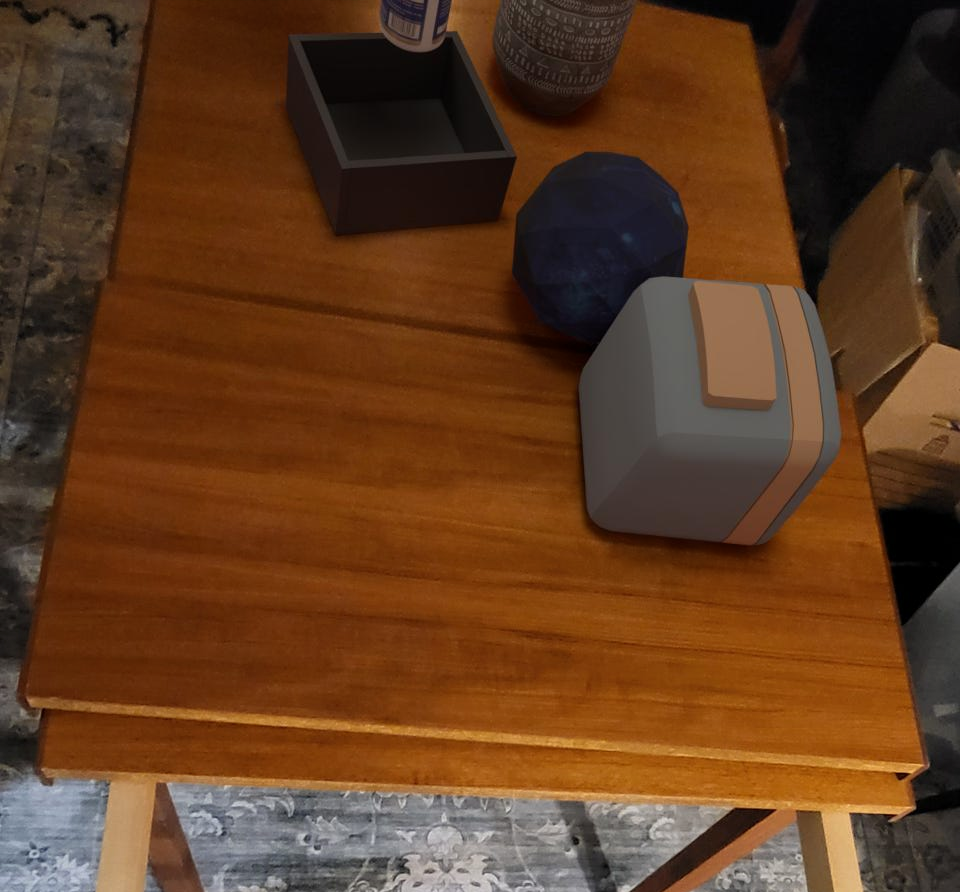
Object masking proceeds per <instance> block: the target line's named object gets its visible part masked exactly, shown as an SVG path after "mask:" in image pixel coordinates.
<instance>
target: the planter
mask: <svg viewBox="0 0 960 892" xmlns="http://www.w3.org/2000/svg"><path fill="white" fill-rule="evenodd" d="M637 1H638V0H500V2H499V6H498V9H497V13H496V14H497V15H496V17H495V22H494V26H493V30H492V31H493V32H492V41H491V42H492V48H493V52H494V57H495V60H496V64H497V68H498V71H499V74H500V77H501V79H502V82H503V84H504V87H505V89H506V91H507V92H508V93H509V96H511V97H512V99H514V101H515V102H516V103H518V104H519V105H521V106H522V107H524V108H526V109H527V110H529V111H532V112H534V113H537V114H540V115H545V116H554V117H557V116H564V115H568V114H570V113H572V112H574V111H575V110H577V109H579V108H580V107H581V106H583V105H585V103H587V102H588V101H590V100H591V99H592V98H593V97H594V96H595V95H597V94H598V93H599V92H600V91H601V90H602V89H603V88H604V87H605V86H606V85H607V83H608V82H609V80H610V78H611V76H612V73H613V70H614V67H615V65H616V62H617V59H618V57H619V54H620V51H621V47H622V43H623V41H624V38H625V36H626V34H627V30H628V27H629V25H630V22H631V19H632V17H633V14H634V12H635V8H636V5H637Z"/></svg>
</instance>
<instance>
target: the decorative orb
mask: <svg viewBox="0 0 960 892" xmlns="http://www.w3.org/2000/svg"><path fill="white" fill-rule="evenodd" d="M515 214H516V215H515V224H514V225H515V228H514V237H513V238H514V240H513V250H512V251H513V253H512V266H511V274H512V277H513V278H514V280H515V282H516V283H517V285H518V287H519V289H520V290H521V292H522V294H523V295H524V297H525V299H526V301H527V302H528V304H529V306H530V308H531V310H532V311H533V313H534V315H535V316H536V318H537V320H538V322H539V323H540V324H541V325H544V326H546V327H549V328H551V329H553V330H555V331H557V332H560V333H562V334H565V335H567V336H569V337H572V338H574V339H576V340H579V341H581V342H583V343H585V344H588V345H595V344H599V343H600V342H601V340H602V339H603V337H604V336H605V334H606V333H607V331H608V330H609V328H610V327H611V325H612V324H613V322H614V321H615V319H616V318H617V316H618V314H619V313H620V311H621V310H622V308H623V307H624V305H625V304H626V302H627V301H628V299H629V298H630V296H631V295H632V293H633V292H634V291H635V290H636V289H637V288H638V287H639V286H640V285H641V284H642V283H644V282H645V281H646V280H648V279H649V278H654V277H677V278H684V273H685V263H686V255H687V247H688V237H689V229H690V228H689V227H690V226H689V223H688V220H687V216H686V213H685V210H684V206H683V204H682V200H681V197H680V193H679V192H678V191H677V190H676V189H675V187H674V186H673V185H671V183H670V182H668V180H667V179H666V178H664V176H663V175H662V174H661V173H659V172H658V171H657V170H655V169H654V168H653V167H651V166H650V165H649V164H648V163H646V162H645V161H644V160H642V159H641V158H640V157H638V156H634V155H630V154H629V155H628V154H623V153H619V152H613V151H591V150H590V151H589V150H586V151H583V152H581V153H580V154H577V155H575V156H573V157H571V158H569V159H567V160H565V161H563V162H560V163H558V164H556V165H554V166H553V167H552V168H551V169H550V171H548V173H547V174H546V176H545V177H544V178H543V179H542V181H541V182H540V183H539V185H538V186H537V187H536V188H535V189H534V191H533V192H532V193H531V195H529V197H528V199H527V200H526V201H525V202H524V204H523V205H522V206H521V207H520V208H519V210H518V211H517V212H516V213H515Z"/></svg>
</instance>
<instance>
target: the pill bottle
mask: <svg viewBox="0 0 960 892" xmlns="http://www.w3.org/2000/svg"><path fill="white" fill-rule="evenodd" d="M452 1H453V0H380V4H379V5H380V6H379V15H378V22H379V23H378V24H379V28H380V30H381V33H383V34H384V36H385V37H386V38H387V39H388V40H389V41H390V42H392V43H393V44H394V45H396V46H398V47H400V48H402V49H404V50H407V51H412V52H428V51H431V50H434V49H436V48H437V47H439V46H440V45H441V43H442V42H443V40H444V38H445V34H446V31H447V29H448V24H449V17H450V13H451V7H452Z"/></svg>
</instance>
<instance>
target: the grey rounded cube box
mask: <svg viewBox="0 0 960 892" xmlns="http://www.w3.org/2000/svg"><path fill="white" fill-rule="evenodd" d="M833 370H834V369H833V363H832V360H831V356H830V352H829V348H828V345H827V341H826V337H825V333H824V329H823V326H822V324H821V320H820V316H819V314H818V310H817V307H816V304H815V303H814V301H813V300H812V298H811V296H810V295H809V294H808V293H807V292H806V290H804V289H802V288H799V287H797V286H792V285H783V284H770V283H769V284H768V283H755V282H743V281H730V280H715V279H702V278H687V277H683V278H677V277H654V278H649V279H648V280H646V281H645V282H644V283H642V284H641V285H640V286H639V287H638V288H637V289H636V290H635V291H634V292H633V293H632V295H631V296H630V298H629V299H628V301H627V302H626V304H625V305H624V307H623V308H622V310H621V311H620V313H619V314H618V316H617V318H616V319H615V321H614V322H613V324H612V325H611V327H610V328H609V330H608V331H607V333H606V334H605V336H604V337H603V339H602V340H601V342H600V343H598V345H597V346H596V348H595V350H594V351H593V352H592V354H591V356H590V357H589V359H588V360H587V362H586V363H585V365H584V367H583V368H582V371H581V374H580V377H579V383H578V396H579V397H578V398H579V409H580V426H581V439H582V441H581V442H582V454H583V455H582V456H583V457H582V458H583V470H584V483H585V484H584V485H585V486H584V487H585V499H586V501H585V502H586V509H587V513H588V515H589V518H590V519H591V520H592V521H593V522H594V524H595V525H597V526H598V527H599V528H602V529H604V530H608V531H609V532H618V533H627V534H637V535H647V536H656V537H666V538H676V539H684V540H685V539H686V540H695V541H705V542H714V543H724V544H733V545H742V546H757V545H764V544H765V543H767V542H768V541H770V540H771V539H772V538H773V537H775V535H776V534H777V533H778V531H780V529H782V527H783V526H784V525H785V524H786V522H787V521H788V520H789V519H790V518H791V516H792V515H793V514H794V513H795V512H796V511H797V510H798V508H800V506H801V505H802V503H803V502H804V501H805V500H806V498H808V496H809V494H810V493H811V492H812V491H813V490H814V488H815V487H816V486H817V484H818V483H819V482H820V480H821V479H822V478H823V476H825V474H826V473H827V471H828V470H829V468H830V467H831V466H832V465H833V463H834V462H835V460H836V459H837V456H838V453H839V450H840V447H841V440H842V431H841V429H842V428H841V421H840V413H839V403H838V398H837V390H836V384H835V377H834V371H833Z"/></svg>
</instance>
